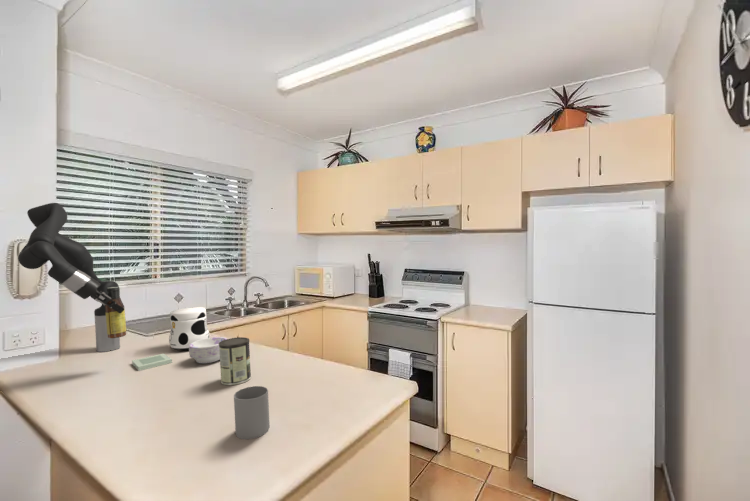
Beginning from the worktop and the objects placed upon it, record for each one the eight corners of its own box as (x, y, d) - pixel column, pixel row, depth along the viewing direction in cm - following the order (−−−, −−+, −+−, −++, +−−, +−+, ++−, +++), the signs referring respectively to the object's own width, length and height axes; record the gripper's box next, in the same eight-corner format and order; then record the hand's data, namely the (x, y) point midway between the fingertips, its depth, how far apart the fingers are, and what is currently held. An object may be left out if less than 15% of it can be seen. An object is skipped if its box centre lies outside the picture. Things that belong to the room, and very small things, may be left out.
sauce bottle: (130, 334, 145) (128, 286, 145) (117, 338, 139) (115, 288, 139) (115, 334, 146) (113, 286, 146) (102, 338, 140) (100, 288, 139)
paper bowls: (181, 364, 148) (180, 345, 148) (210, 353, 162) (209, 335, 162) (208, 368, 142) (207, 348, 142) (236, 356, 156) (235, 338, 156)
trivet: (132, 364, 150) (131, 360, 150) (164, 356, 159) (163, 353, 159) (138, 370, 142) (138, 366, 142) (172, 362, 150) (171, 359, 150)
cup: (241, 423, 97) (239, 387, 97) (272, 421, 98) (270, 385, 98) (231, 440, 89) (229, 401, 89) (265, 438, 89) (263, 398, 89)
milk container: (162, 349, 171) (160, 311, 170) (198, 340, 185) (196, 305, 184) (181, 354, 161) (179, 315, 160) (217, 344, 175) (215, 308, 174)
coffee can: (236, 373, 136) (234, 336, 135) (257, 376, 131) (255, 338, 131) (213, 383, 126) (212, 343, 126) (235, 387, 122) (233, 346, 122)
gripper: (71, 290, 139) (110, 315, 147) (74, 293, 128) (116, 320, 137) (87, 275, 142) (125, 301, 151) (92, 277, 132) (132, 304, 140)
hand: (120, 310), depth 144 cm, fingers closed on sauce bottle, 6 cm apart
